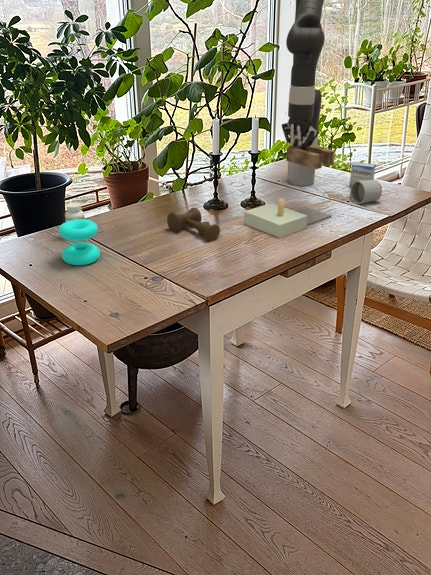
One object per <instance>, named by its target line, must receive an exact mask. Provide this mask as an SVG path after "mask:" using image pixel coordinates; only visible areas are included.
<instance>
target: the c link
mask: <svg viewBox="0 0 431 575" xmlns="http://www.w3.org/2000/svg"><path fill="white" fill-rule="evenodd" d="M335 152H336V151H335V150H333V149H328V148H325V147H321V146H318V145H317V146H313V145H311V146H308V147H306V148H305V150H302V149H299V145H296V146H292V147H291V146H287V147H286V159H285V160H286V161H285V162H288V161H289V162H293V163H296V164H299V165H303V166H306V167H309V168H313V169H315V170H318V169H322V167H323V165H324V166H326V167H329V166H333V165H335V156H336V155H335Z"/></svg>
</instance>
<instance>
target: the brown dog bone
mask: <svg viewBox="0 0 431 575" xmlns="http://www.w3.org/2000/svg"><path fill="white" fill-rule="evenodd" d="M166 222H167V223H166V224H167V226H168V228H169V230H170V231H172V232H173V233H178V232H180V230H181V229H182V227H183V226H186V225H190V226H191V227H192V228H194V229H195V230H196V231H197V233H198V235H199V236H201V237H202V236H204V237H205V238H206V239H205V240H206V241H209V242H213V241H216V240H217V239H218V237H219V235H220V231H221V229H220V226H219V225H218V224H210V222H209V221H202V213H201V211H200V210H199V209H198V208H197V207H190V209H189V210H188V211H187V212H185V213H183V214H179V213H175V212H172V211H171V212H170V213H168V214H167V218H166Z"/></svg>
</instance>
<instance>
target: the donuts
mask: <svg viewBox="0 0 431 575" xmlns="http://www.w3.org/2000/svg"><path fill="white" fill-rule="evenodd" d="M98 230H99V227H98V225H97V224H96V222H95V221H92V220H90V219H76V220H70V221H67V222H66V221H65V222H63V223H62V224H61V225H60V226H59V227H58V234H59V235H60V237H61V238H62V239H64V240H66V241H70V242H76V243H72V244H70V245H67V246H66V247H65V248H64V249H63V250H62V253H61V257H62V260H63V261H64V262H65V263H66V264H69V265H71V266H86V265H89V264H92V263H94V262H96V261H98V259H100V256H101V251H100V248H98V246H97V245H95V244H93V243H89V242H85V241H88V240H90V239H92V238H94V237H95V236H96V234H98Z"/></svg>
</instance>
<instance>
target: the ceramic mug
mask: <svg viewBox="0 0 431 575" xmlns="http://www.w3.org/2000/svg"><path fill="white" fill-rule="evenodd" d="M382 194H383V188H382V185H381V183H380V182H379V181H378V180H375V179H374V180H364V181H356V182H354V183H353V184H352V186H351V188H350V192H349V197H351V200H352V201H353V203H355V204H356V205H361V204H366V203H371V202H376V201H378V200H379V199H380V198H381V196H382Z"/></svg>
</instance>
